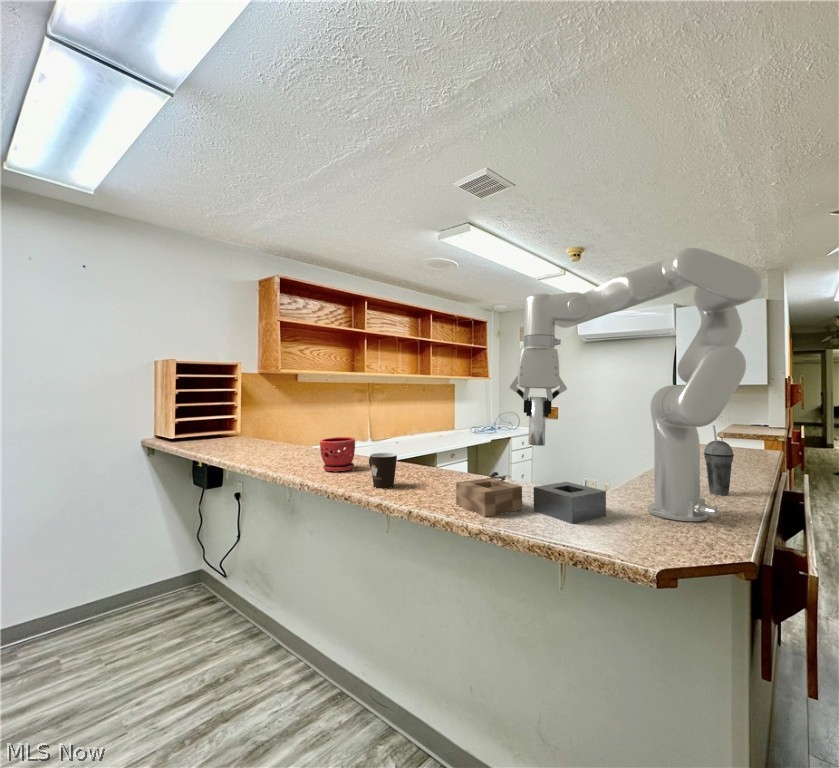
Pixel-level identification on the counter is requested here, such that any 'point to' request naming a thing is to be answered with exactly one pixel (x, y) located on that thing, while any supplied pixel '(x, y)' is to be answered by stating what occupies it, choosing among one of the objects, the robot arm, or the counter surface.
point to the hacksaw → (496, 475)
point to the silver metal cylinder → (537, 421)
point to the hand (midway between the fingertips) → (537, 415)
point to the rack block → (489, 496)
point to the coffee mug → (383, 469)
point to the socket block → (570, 502)
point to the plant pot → (337, 453)
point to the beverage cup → (718, 466)
